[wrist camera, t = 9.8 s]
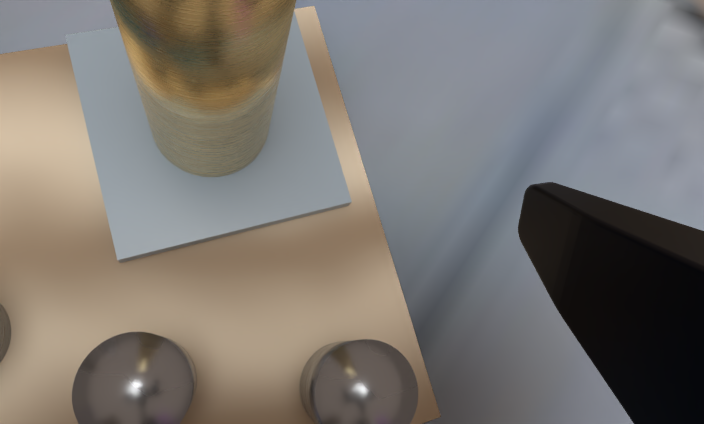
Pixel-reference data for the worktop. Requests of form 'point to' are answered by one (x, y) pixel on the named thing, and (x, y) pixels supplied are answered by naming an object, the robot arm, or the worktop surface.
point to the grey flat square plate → (192, 190)
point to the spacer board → (179, 268)
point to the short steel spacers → (181, 381)
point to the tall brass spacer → (206, 75)
